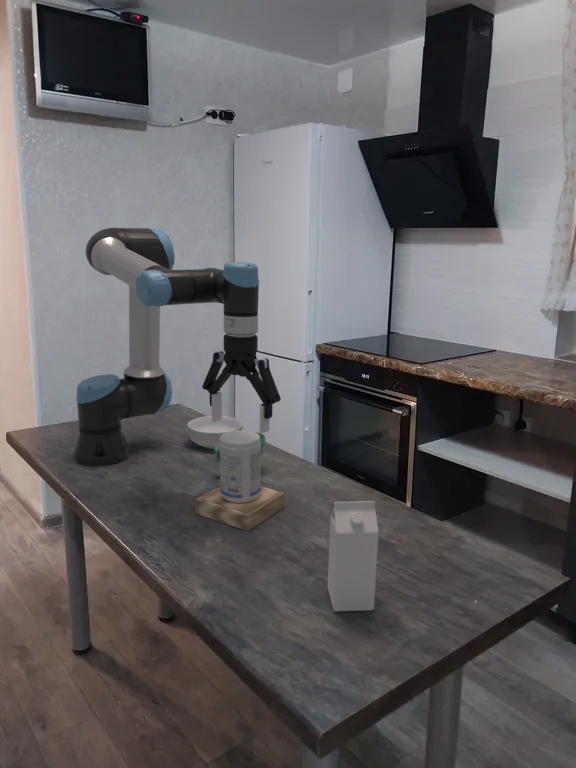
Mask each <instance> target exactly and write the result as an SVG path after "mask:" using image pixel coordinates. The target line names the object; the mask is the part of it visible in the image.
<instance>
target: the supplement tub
mask: <svg viewBox="0 0 576 768" xmlns="http://www.w3.org/2000/svg"><path fill="white" fill-rule="evenodd" d="M255 432H256V431H251V430H246V429H245V430H244V429H242V430H238V431H230V432H226V433H224V434H222V435H221V436H220V442H219V457H220V463H219V484H220V485H219V487H220V491H221V496H222V497H223V498H224V499H225V500H227V501H230V502H235V503H244V502H250V501H252V500H255V499H257V498H258V497H259V496H260V494H261V486H262V466H261V465H262V462H261V460H262V457H261V444H260V436H259V435H258V434H257V433H258V432H257V433H255Z"/></svg>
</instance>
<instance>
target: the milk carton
mask: <svg viewBox="0 0 576 768" xmlns="http://www.w3.org/2000/svg"><path fill="white" fill-rule="evenodd" d="M376 512H377V511H376V501H375V500H369V501H368V500H367V501H366V500H364V501H360V500H359V501H334V503H333V509H332V510H331V512H330V515H329V516H330V518H329V520H330V521H329V545H328V546H329V547H328V574H327V591H328V594H329V599H330V603H331V606H332V609H333V610H332V611H333V612H354V611H355V612H357V611H358V612H359V611H360V612H361V611H362V612H363V611H373V610H375V597H376V596H375V595H376V582H377V581H376V580H377V562H378V544H379V526H378V525H379V524H378V518H377V513H376Z"/></svg>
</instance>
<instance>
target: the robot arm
mask: <svg viewBox="0 0 576 768" xmlns="http://www.w3.org/2000/svg"><path fill="white" fill-rule="evenodd" d="M85 256H86V259H87V262H88V264H89V265H90V266H91V267H92V268H93V269H94V271H97V272H98V273H99V274H102V275H106V276H113V278H116V279H118V280H119V281H121V282H123V283H125V284H126V285H128V357H129V359H128V362H129V363H128V364H129V365H128V366H127V367H125V369H124V370H123V378H120V377H119V376H118V375H116V374H108V373H107V374H101V375H100V374H99V375H94V376H91V377H88V378H85V379H83V380H82V381H80V382H79V383H78V384H77V386H76V399H75V400H76V403H77V404H76V405H77V416H78V418H77V419H78V432H79V433H78V437H77V441H76V445H75V449H74V452H73V455H74V461H75V462H76V463H77V464H79V465H83V466H91V467H92V466H93V467H97V466H98V467H99V466H100V467H101V466H103V467H104V466H109V465H115V464H118V463H120V462H122V461H125V460H127V459H128V458H129V456H130V449H129V445H128V444H127V440H126V437H125V435H124V433H123V429H122V420H125V419H126V420H127V419H130V418H136V417H142V416H148V415H149V416H150V415H155V414H157V413H162V412H164V411H166V409H167V408H168V407H169V406H170V403H171V402H172V397H173V386H172V382H171V379H170V377H169V376H168V375H167V374H165V369H164V368H163V367H162V366H161V365H160V339H161V338H160V337H161V335H160V333H161V330H160V328H161V327H160V326H161V311H160V310H161V307H163V306H175V305H176V306H177V305H188V304H190V305H192V304H209V303H214V304H215V303H216V304H217V303H218V304H223V332H224V333H225V334H224V335H223V351H222V350H220V351H216V352H213V354H212V361H211V364H210V367H209V369H208V371H207V373H206V376H205V378H204V381H203V384H202V387H201V388H202V389H203V390H206V391H207V392H208V393H209V406H210V407H211V416H212V421H213V422H215V421H218V420H221V419H222V416H223V415H222V414H223V413H222V412H223V411H222V410H223V409H222V408H223V407H222V405H223V403H222V402H223V394H222V391H221V388H222V387H223V386H224V384H226V382H227V381H228V380H229V379H230V377H231V376H239V377H242V378H244V377H245V379H246V380H248V381H249V383H250V384H251V386H252V387H253V389H254V391H255V393H256V394H257V396H258V397H259V399H260V400H261V402H262V403H261V404H259V433H261V434H264V433H267V432H269V431H270V419H271V418H272V417H273V405H274V404H277V403H278V402H280V401H281V400H282V398H281V396H280V392H279V390H278V388H277V385H276V383H275V380H274V377H273V374H272V371H271V369H270V360H269V359H268V358H267V357H266V358H262V359H258V357H257V352H258V350H259V349H258V348H259V347H258V343H259V340H258V339H259V338H258V337H259V336H258V335H257V333H258V332H259V315H258V314H259V312H258V311H259V294H260V293H259V292H260V291H259V289H260V280H259V267H258V265H257V264H256V263H254V262H244V261H243V262H242V261H240V262H239V261H236V262H235V261H234V262H233V261H231V262H226V263H225V264H224V266H223V269H220V268H219V269H218V268H216V267H204V268H201V269H173V268H174V265H175V256H176V255H175V251H174V246H173V243H172V240H171V238H170V236H169V235H168V234H167V233H166V232H165V231H163V230H161V229H156V228H150V227H147V228H145V227H138V228H137V227H133V228H131V227H127V228H126V227H106V228H104V229H101V230H98V231H96V232H95V233H94V234H93V235H91V236H90V238H89V240H88V242H87V244H86V247H85ZM224 363H225V366H224V367H223V369H222V370H221V368H222V366H223V364H224ZM220 371H221V373H220ZM219 373H220V374H219ZM220 391H221V392H220Z"/></svg>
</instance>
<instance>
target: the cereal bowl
mask: <svg viewBox="0 0 576 768" xmlns="http://www.w3.org/2000/svg"><path fill="white" fill-rule="evenodd" d="M186 426H187V427H186V428H187V435H188V437H189V439H190V440H191V441H192V442H193V443H194V444H195V445H198V446H201V447H203V448H205V449H209V450H214V449H215V447H216V446H217V444H219V442H220V436H221V435H222V434H224V433H226V432H230V431H238V430H244V429H243V428H244V427H243V426H244V425H243V422H242V421H241V420H240V419H238V418H235V417H232V416H228V415H227V416H226V415H222V419H221V420H218V421H215V422H213V421H212V415H207V416H200V417H196V418H194V419H191V420H189V421H188V422H187V425H186Z"/></svg>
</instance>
